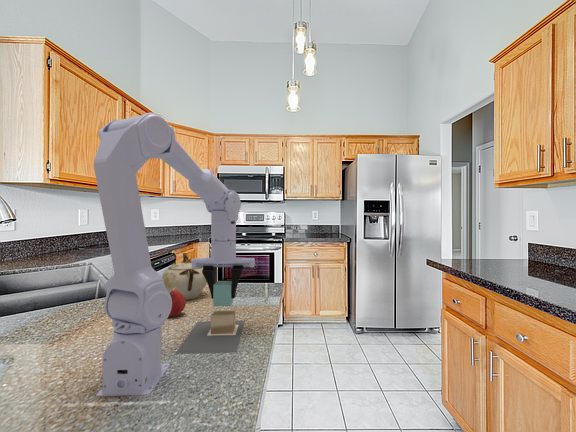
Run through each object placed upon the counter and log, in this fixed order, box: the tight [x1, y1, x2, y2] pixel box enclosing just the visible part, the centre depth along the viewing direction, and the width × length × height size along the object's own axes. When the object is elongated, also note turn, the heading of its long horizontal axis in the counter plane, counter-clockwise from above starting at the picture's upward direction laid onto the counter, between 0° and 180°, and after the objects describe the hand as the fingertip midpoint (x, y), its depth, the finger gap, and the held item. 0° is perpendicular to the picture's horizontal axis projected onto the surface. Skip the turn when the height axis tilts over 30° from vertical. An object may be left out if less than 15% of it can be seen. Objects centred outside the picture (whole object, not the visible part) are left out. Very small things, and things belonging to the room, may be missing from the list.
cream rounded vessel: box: [161, 252, 208, 300], centre depth 102 cm, size 20×15×15 cm
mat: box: [174, 320, 246, 355], centre depth 68 cm, size 18×12×1 cm, turn 3°
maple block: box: [210, 309, 236, 334], centre depth 71 cm, size 5×5×4 cm
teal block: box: [212, 280, 234, 307], centre depth 71 cm, size 4×4×5 cm
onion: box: [168, 288, 187, 318], centre depth 81 cm, size 6×6×8 cm
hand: (223, 297), depth 71 cm, fingers closed on teal block, 4 cm apart
